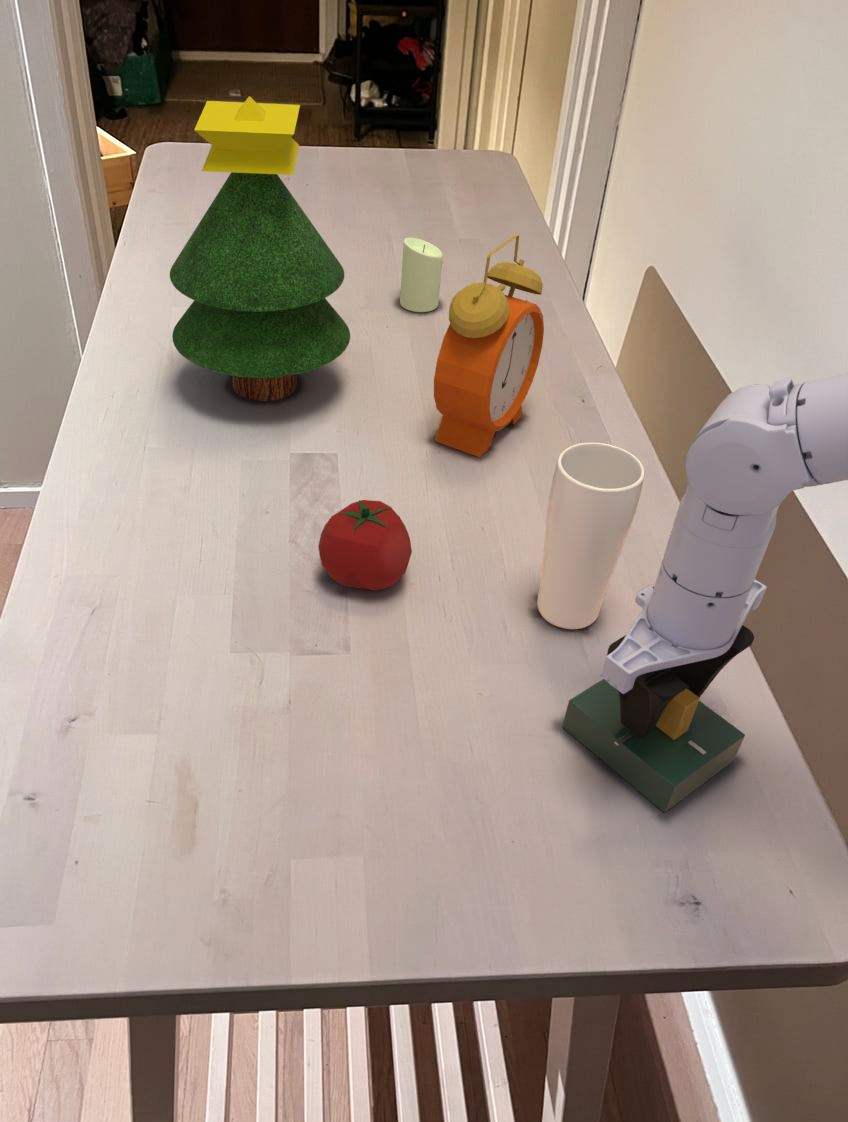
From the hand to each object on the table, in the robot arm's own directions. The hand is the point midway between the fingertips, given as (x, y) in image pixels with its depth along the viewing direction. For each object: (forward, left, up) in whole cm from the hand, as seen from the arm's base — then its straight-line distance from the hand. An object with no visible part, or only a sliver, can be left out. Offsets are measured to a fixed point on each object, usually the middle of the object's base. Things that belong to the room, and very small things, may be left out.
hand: (657, 712), depth 73 cm
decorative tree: (+61, -6, -4) cm, 61 cm away
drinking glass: (+14, -6, -4) cm, 16 cm away
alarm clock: (+40, -20, -4) cm, 45 cm away
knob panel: (0, 0, -3) cm, 3 cm away
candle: (+67, -34, -4) cm, 75 cm away
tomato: (+28, +5, -4) cm, 29 cm away
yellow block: (0, 0, 0) cm, 0 cm away
